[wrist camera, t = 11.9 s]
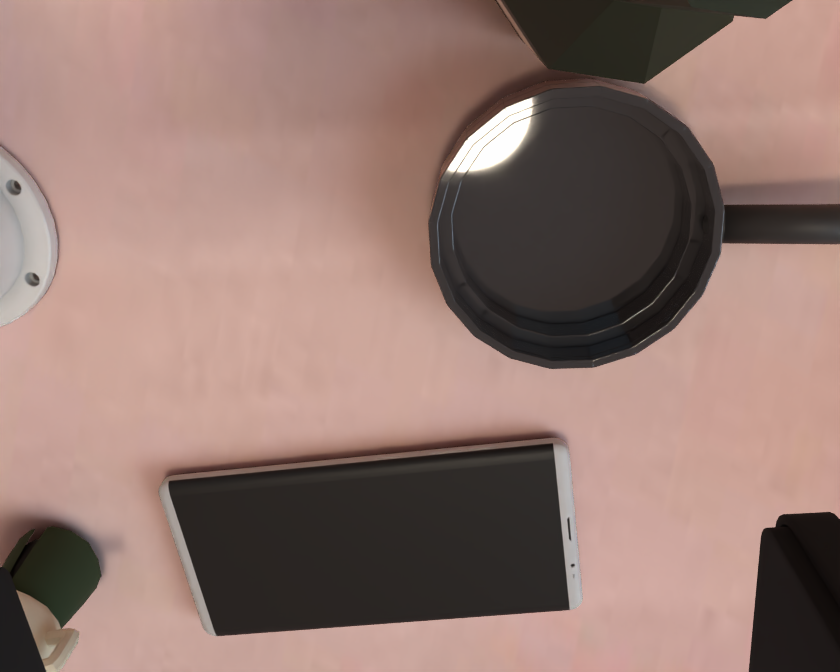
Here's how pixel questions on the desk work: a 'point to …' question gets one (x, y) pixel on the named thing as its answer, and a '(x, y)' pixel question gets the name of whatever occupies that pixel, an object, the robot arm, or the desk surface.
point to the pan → (574, 224)
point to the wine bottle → (623, 31)
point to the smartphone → (379, 538)
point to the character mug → (53, 588)
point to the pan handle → (780, 224)
